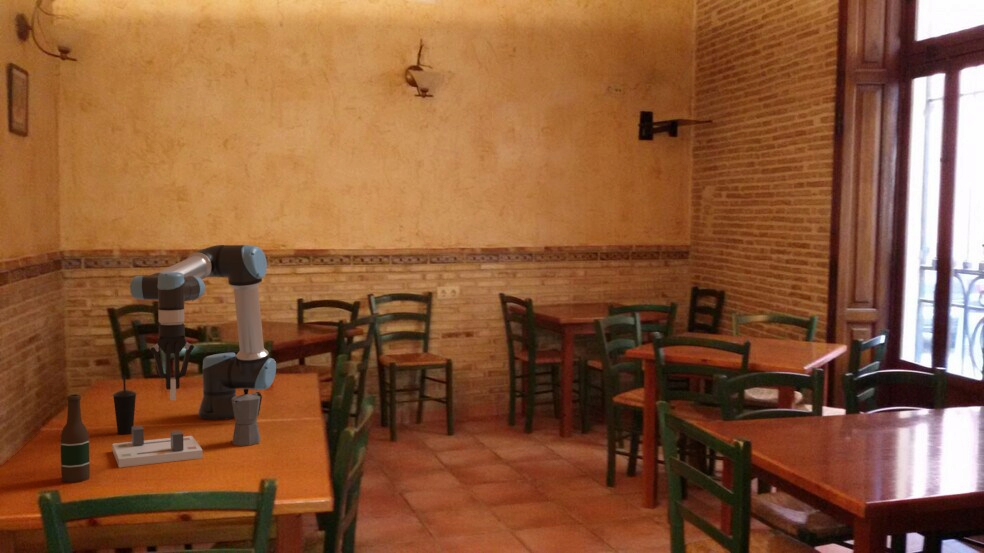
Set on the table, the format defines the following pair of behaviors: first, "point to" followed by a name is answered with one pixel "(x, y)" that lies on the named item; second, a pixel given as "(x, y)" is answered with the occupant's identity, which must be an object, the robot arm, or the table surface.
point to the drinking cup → (124, 409)
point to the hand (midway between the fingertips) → (172, 399)
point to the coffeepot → (246, 418)
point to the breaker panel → (155, 452)
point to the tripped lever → (176, 440)
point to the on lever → (137, 435)
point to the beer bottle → (74, 445)
